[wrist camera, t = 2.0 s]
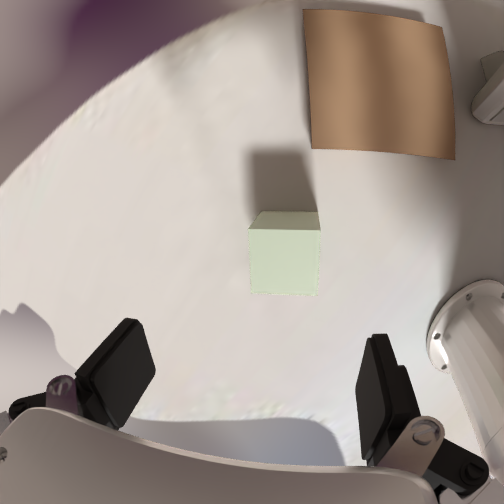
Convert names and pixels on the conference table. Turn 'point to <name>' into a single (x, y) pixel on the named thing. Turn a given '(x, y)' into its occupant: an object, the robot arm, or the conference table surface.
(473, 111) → the digital clock
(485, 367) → the robot arm
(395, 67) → the wooden square slab
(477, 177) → the conference table surface
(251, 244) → the sage block
